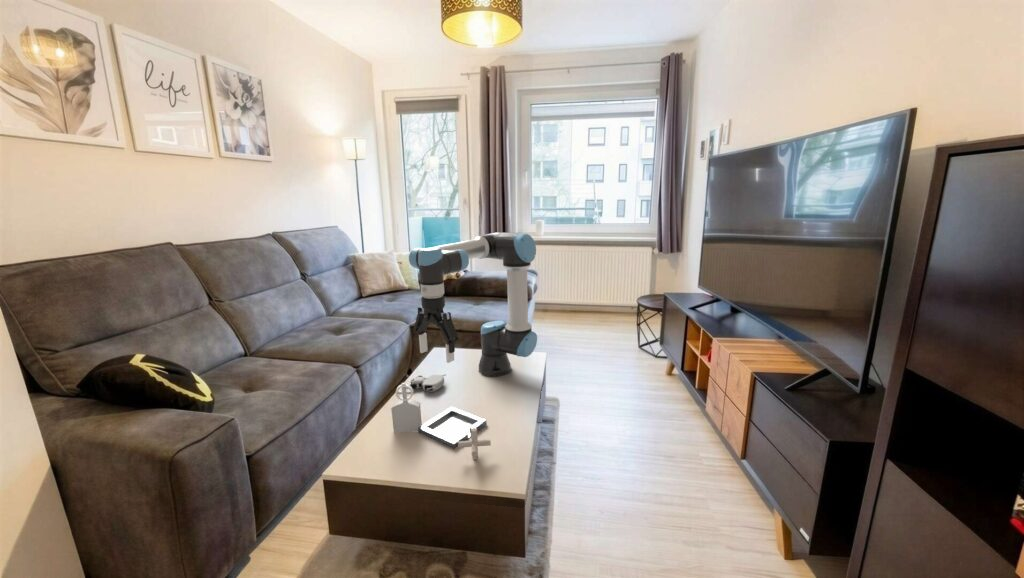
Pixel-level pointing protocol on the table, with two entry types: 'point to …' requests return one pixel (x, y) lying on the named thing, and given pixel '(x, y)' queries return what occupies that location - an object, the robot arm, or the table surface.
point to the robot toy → (428, 382)
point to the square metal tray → (451, 427)
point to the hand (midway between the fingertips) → (436, 356)
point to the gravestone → (406, 411)
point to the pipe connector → (474, 443)
